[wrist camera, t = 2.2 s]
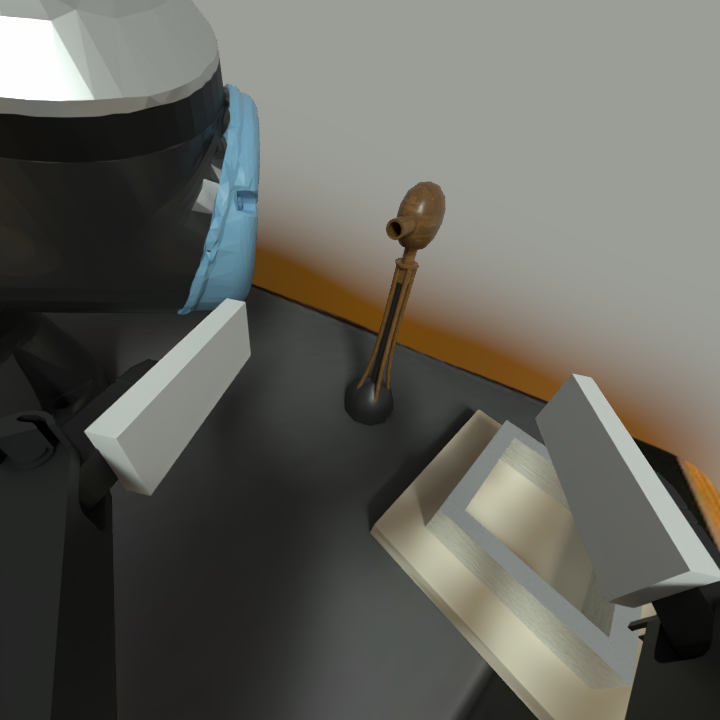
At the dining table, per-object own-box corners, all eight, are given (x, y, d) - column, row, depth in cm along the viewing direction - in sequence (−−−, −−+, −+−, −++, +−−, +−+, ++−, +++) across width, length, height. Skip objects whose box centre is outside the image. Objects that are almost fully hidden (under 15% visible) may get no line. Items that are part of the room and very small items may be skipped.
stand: (369, 532, 21) (374, 524, 21) (472, 418, 31) (478, 409, 30) (614, 802, 14) (638, 809, 13) (648, 544, 24) (663, 537, 23)
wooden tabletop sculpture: (369, 441, 27) (445, 200, 14) (328, 414, 29) (364, 174, 16) (399, 403, 31) (479, 188, 18) (362, 381, 33) (412, 169, 20)
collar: (425, 527, 21) (439, 508, 19) (490, 440, 28) (506, 420, 26) (590, 688, 16) (632, 686, 14) (621, 535, 23) (653, 520, 21)
